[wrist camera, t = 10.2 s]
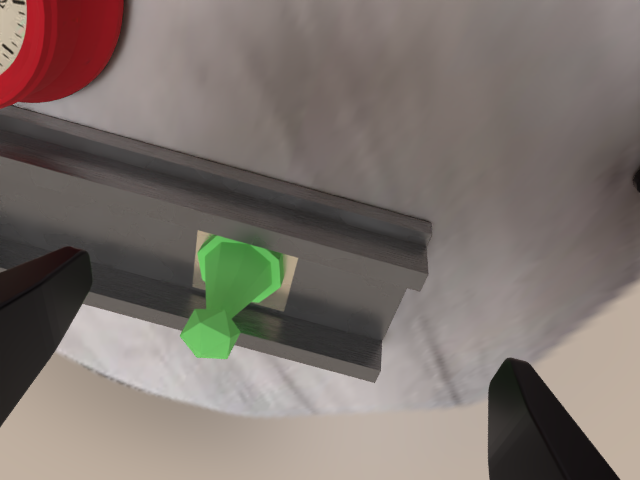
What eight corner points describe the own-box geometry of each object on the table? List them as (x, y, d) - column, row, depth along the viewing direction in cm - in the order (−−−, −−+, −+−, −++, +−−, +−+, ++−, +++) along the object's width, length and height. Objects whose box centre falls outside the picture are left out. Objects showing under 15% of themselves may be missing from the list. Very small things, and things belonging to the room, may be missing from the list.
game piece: (299, 246, 22) (270, 340, 17) (270, 304, 25) (237, 402, 20) (213, 210, 22) (159, 296, 17) (192, 273, 24) (139, 365, 19)
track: (430, 222, 22) (434, 261, 19) (373, 347, 27) (370, 390, 24) (-78, 81, 21) (-140, 102, 19) (-34, 236, 26) (-79, 269, 24)
